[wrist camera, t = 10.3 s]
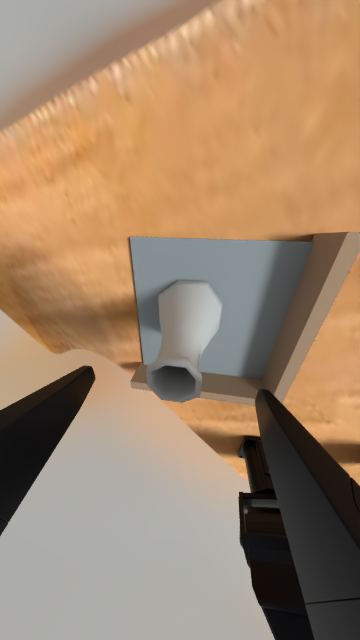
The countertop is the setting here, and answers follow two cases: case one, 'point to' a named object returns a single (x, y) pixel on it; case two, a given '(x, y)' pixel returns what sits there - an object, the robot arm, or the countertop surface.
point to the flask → (183, 338)
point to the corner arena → (245, 305)
